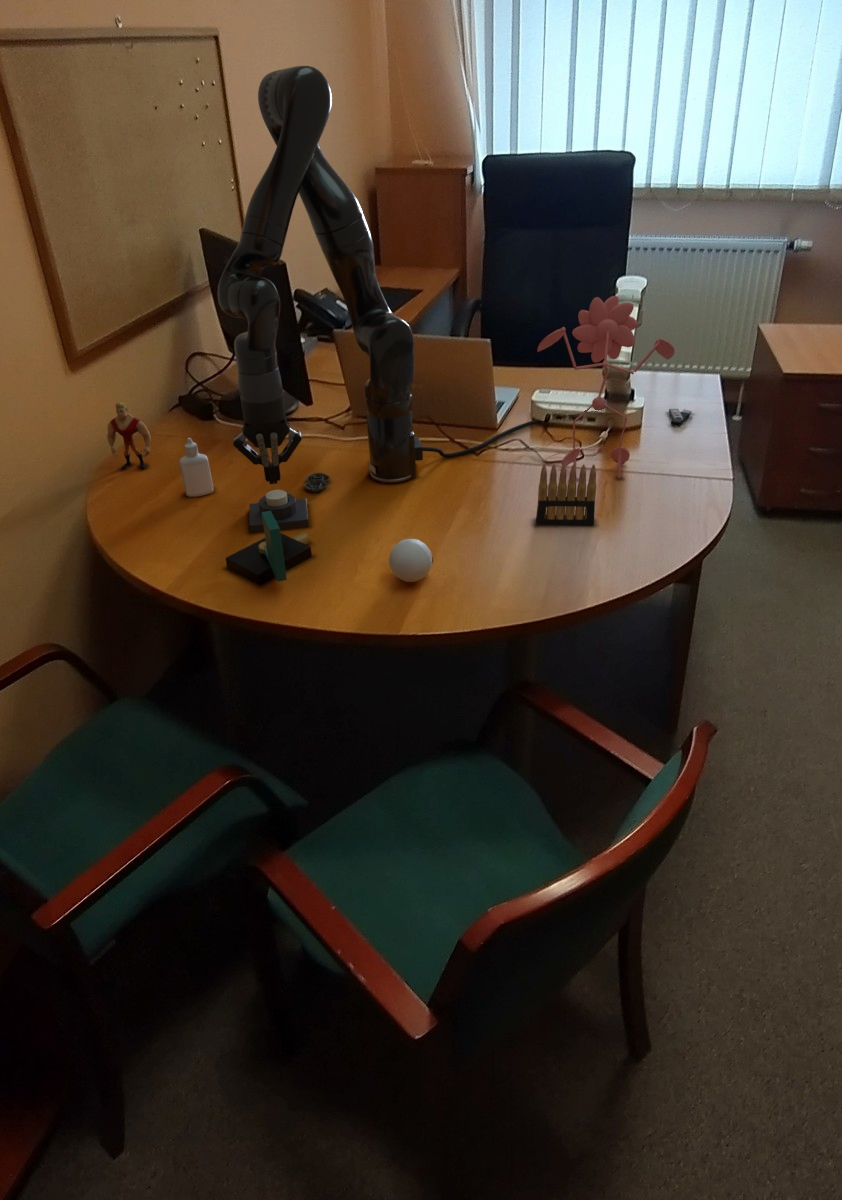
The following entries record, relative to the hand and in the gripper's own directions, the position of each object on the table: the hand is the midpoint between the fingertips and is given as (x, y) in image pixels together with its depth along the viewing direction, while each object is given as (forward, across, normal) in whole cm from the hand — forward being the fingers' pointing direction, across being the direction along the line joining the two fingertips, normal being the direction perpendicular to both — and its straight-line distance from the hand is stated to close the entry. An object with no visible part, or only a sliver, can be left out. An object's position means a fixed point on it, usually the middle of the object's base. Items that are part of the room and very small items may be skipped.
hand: (273, 482), depth 159 cm
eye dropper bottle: (+8, +16, -15) cm, 23 cm away
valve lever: (+5, +1, +21) cm, 21 cm away
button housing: (+8, 0, 0) cm, 8 cm away
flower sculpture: (+8, -66, -10) cm, 67 cm away
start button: (+4, 0, 0) cm, 4 cm away
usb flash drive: (+7, -93, -30) cm, 98 cm away
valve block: (+8, +1, +15) cm, 17 cm away
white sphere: (+8, -22, +25) cm, 34 cm away
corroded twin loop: (+8, -8, -13) cm, 17 cm away
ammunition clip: (+8, -53, +13) cm, 55 cm away
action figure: (+8, +31, -31) cm, 44 cm away
